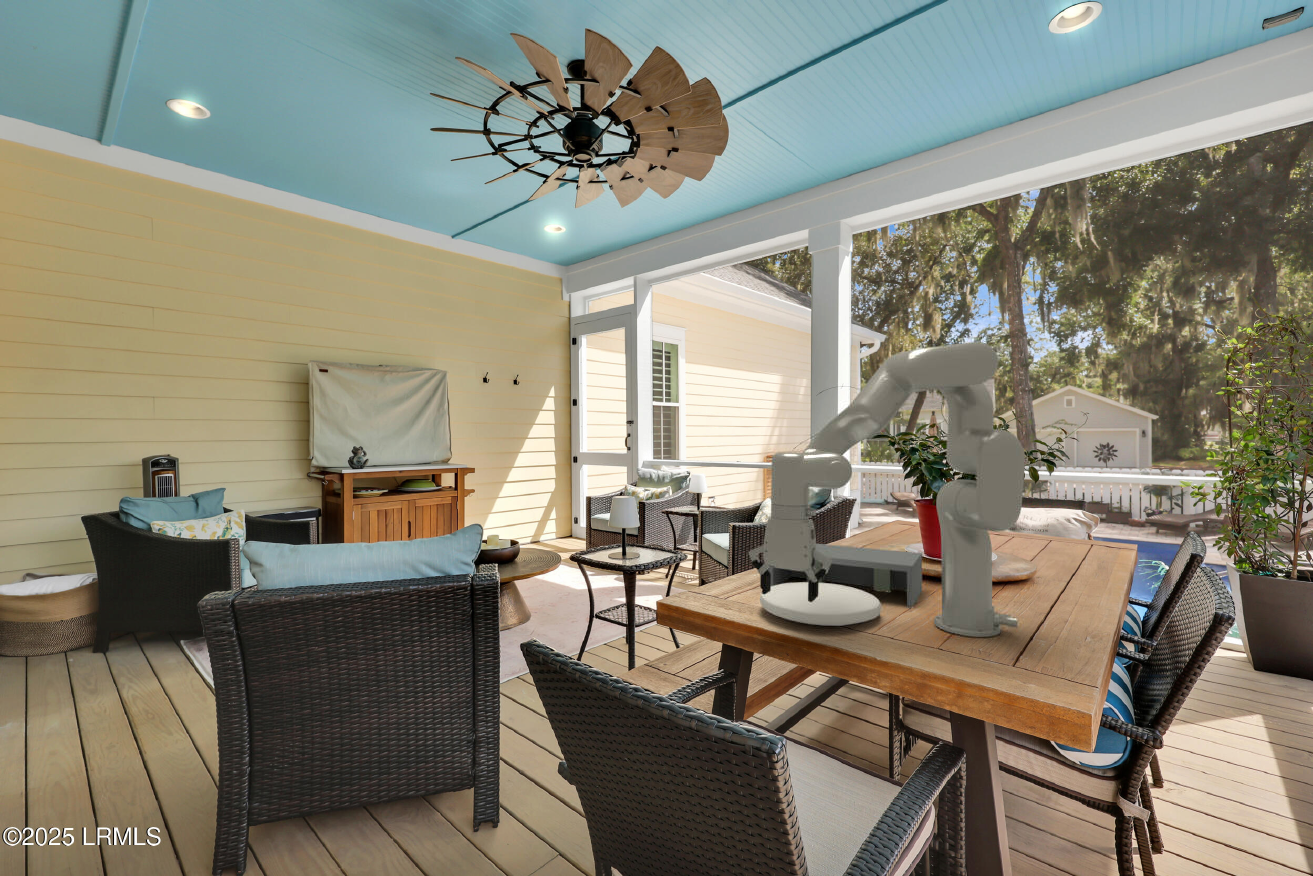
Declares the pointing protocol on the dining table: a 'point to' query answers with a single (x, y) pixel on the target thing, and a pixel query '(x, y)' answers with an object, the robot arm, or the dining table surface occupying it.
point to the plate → (821, 604)
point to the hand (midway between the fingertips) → (788, 596)
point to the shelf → (866, 569)
